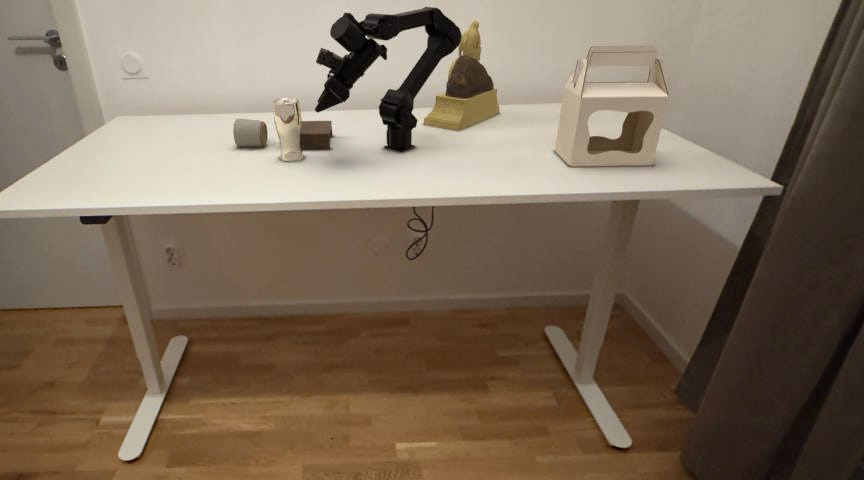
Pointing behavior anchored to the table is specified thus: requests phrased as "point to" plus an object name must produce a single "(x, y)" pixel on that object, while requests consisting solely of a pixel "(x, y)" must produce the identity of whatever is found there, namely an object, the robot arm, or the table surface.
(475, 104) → the tan and brown statue
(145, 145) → the table surface
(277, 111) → the beer glass
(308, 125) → the desk shelf
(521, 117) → the table surface
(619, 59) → the gable box
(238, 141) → the ceramic mug
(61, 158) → the table surface
